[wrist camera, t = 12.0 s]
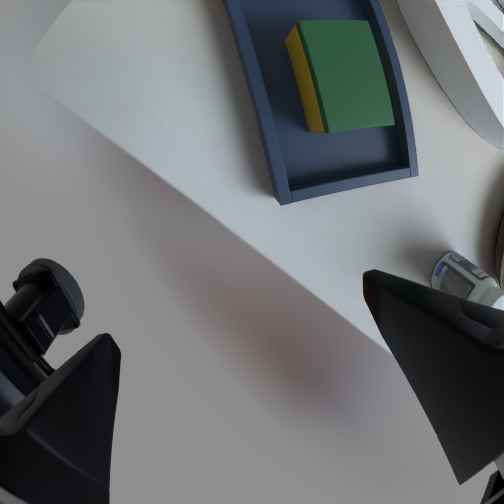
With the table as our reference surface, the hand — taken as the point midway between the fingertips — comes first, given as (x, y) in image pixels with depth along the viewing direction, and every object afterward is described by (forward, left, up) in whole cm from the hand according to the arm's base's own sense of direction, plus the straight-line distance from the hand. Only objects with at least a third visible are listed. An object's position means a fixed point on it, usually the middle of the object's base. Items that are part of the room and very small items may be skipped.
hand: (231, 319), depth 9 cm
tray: (+9, +11, -12) cm, 19 cm away
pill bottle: (+20, -11, -12) cm, 26 cm away
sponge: (+9, +8, -12) cm, 17 cm away
